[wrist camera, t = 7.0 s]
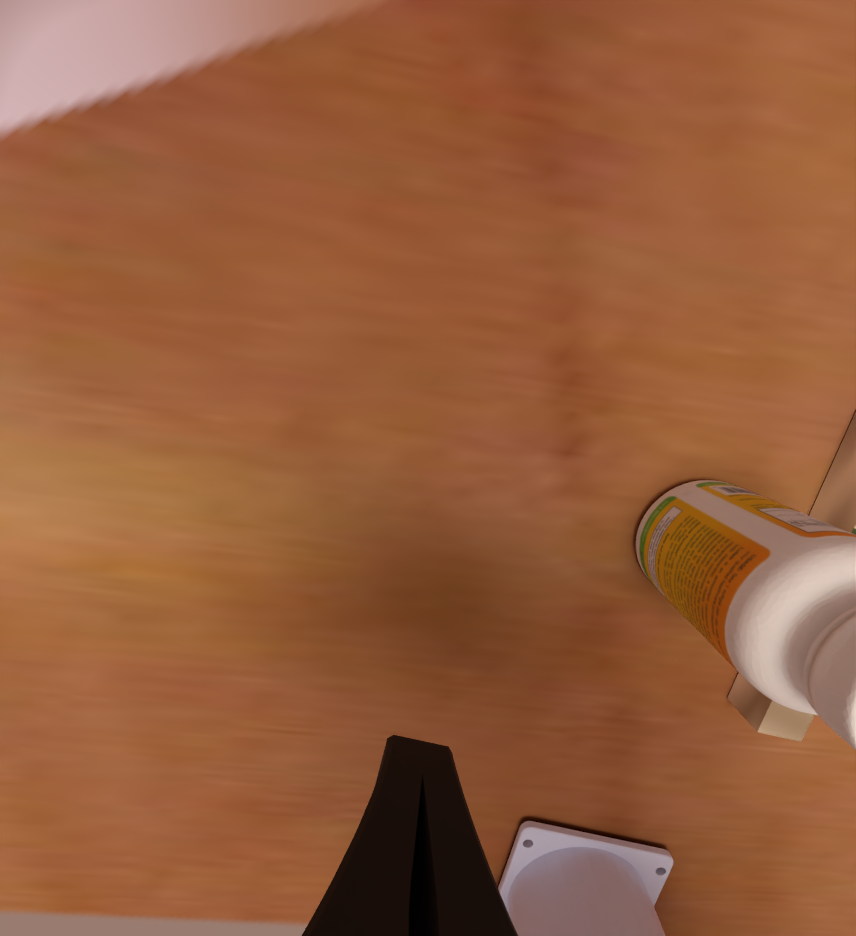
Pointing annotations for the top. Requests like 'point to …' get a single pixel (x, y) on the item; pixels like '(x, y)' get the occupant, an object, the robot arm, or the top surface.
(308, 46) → the top surface
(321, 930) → the robot arm
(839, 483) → the stop rail
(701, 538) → the supplement bottle
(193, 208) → the top surface
